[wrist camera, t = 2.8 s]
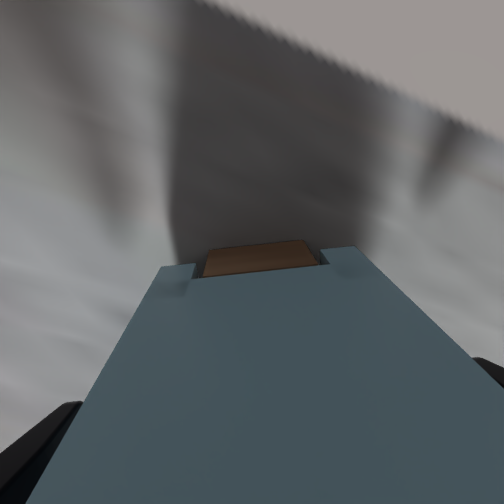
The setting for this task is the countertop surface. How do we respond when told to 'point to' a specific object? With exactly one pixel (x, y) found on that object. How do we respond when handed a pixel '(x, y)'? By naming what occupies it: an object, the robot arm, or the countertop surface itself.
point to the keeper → (283, 398)
